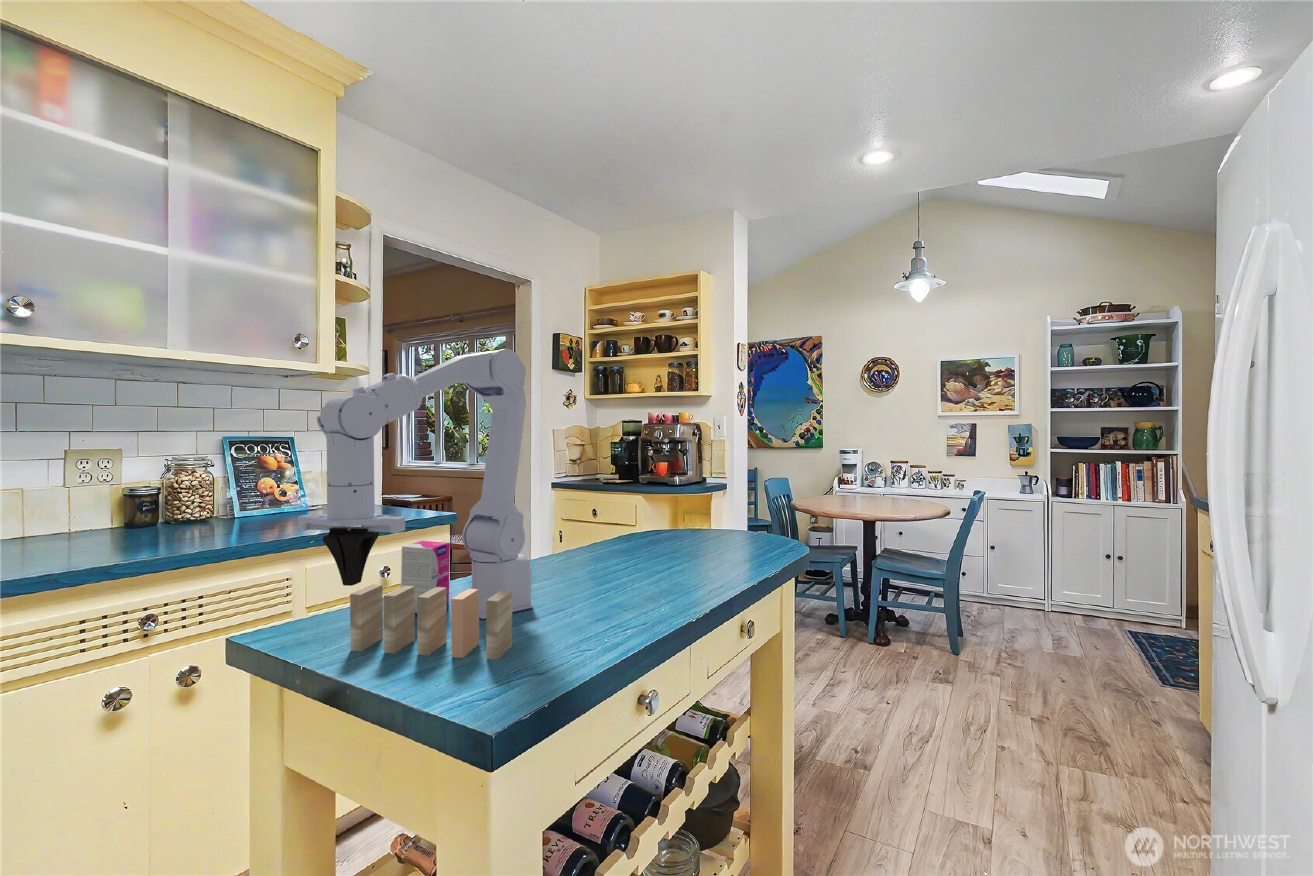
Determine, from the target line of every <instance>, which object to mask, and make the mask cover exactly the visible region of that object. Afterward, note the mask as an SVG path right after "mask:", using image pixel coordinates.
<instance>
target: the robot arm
mask: <svg viewBox="0 0 1313 876" xmlns="http://www.w3.org/2000/svg"><path fill="white" fill-rule="evenodd" d="M526 371H527V367H526V366H525V364H524V362H523V361H522V360H521V358H520V357H519V355H518V354H517V353H516V351H514V350H512V349H509V348H502V349H499V350H492V351H482V352H475V351H473V352H467V353H466V354H462V355H458V356H455V357H452V358H450V359H448V360H446V361H444V362H442V363H440V364H438V365H436V366H433V367H432V368H429V369H426V370H425V371H423V372H421V373H419V374H417V375H415V376H413V377H410V376H408V375H406V374H402V373H399V374H395V373H394V372H391V373H386V374H384V375H382V376H381V378H382V380H381V381H378V382H377V383H374V384H371V385H370V386H367V387H365V388H364V387H363V386H358V387H355V388H353V389H352V394H351V396H337V397H333V398H331V399H329V400H327V401H326V403H325V405H324V406H322V408H321V410H320V414H319V415H318V416H316V422H317V426H318V428H319V429H320V431H321V432H322V433H323V434H324V435H325V438H326V439H325V440H326V497H327V498H326V501H327V503H326V506H327V510H326V511H327V513H326V514H325V513H324V514H323V513H322V514H321V513H320V514H305V515H300V516H297V531H300V532H301V531H302V532H304V531H312V530H313V531H329V532H328V533H327V534H326V535H323V536H322V542H323V543H324V545H325V546H326V548H327V549H328V551H329V552H330V553H331V555H332V557H333V559H334V562H335V563H336V564H335V565H336V566H337V569H338V572H339V575H340V578H341V579H340V580H341V583H342V585H343V586H344V587H345V586H351V587H352V586H355V585H357V584H359V583H361V582H362V580H363V575H364V570H365V566H366V563H367V561H368V557H369V555H370V552H371V550H372V548H373V547H374V544H375V542H377V541H376V540H378V537H379V536H380V532H382V533H387V532H388V533H390V534H398V533H401V532H405V531H406V517H405V516H399V515H397V516H395V515H387V514H378V513H376V511H375V504H376V503H375V498H376V497H375V436H376V435H378V434H379V432H380V431H381V429H382V427H384V426H385V425H387V424H390V423H392V422H394V421H396V420H398V419H400V418H402V417H404V416H406V415H408V414H411V413H412V412H414V411H417V410H418V409H419V408H420V407H421V405H422V401H423V398H425V397H428V396H429V395H433V394H434V393H437V392H439V391H442V390H444V389H446V388H449V387H452V386H454V385H456V384H464V386H466V387H467V388H469V390H471V391H472V392H473V393H474V394H476V395H477V396H479V398H481V399H483V400H484V401H485V402H486V403H487V404H488V406H490V408H491V410H492V415H491V420H490V422H491V423H490V428H489V435H488V442H487V451H486V458H485V465H484V466H485V467H484V473H483V474H484V475H483V481H482V488H481V489H482V490H481V495H480V500H478V501H477V503H475V504H474V505H473V507H472V508H471V509H470V511H469V516H468V519H467V521H466V523H465V525H464V527H463V530H462V534H461V535H462V536H461V540H462V544H463V546H464V547H465V549H466V550H467V551H469V558H471V589H479V619H482V620H484V619H486V600H488V599H489V598H491V597H492V596H494V595H495V594H496V593H498V592H499V591H501V590H510V591H512V613H515V612H519V611H523V610H529V609H532V608H534V604H533V603H532V570H531V569H532V568H531V565H530V561H529V559H528V557H527V556H526V555H525V554H523V553H521V551H522V550H523V548H524V546H525V542H526V532H525V529H524V516H525V515H524V514H523V512H522V510H520V509H519V507H518V506H517V505H516V503H515V495H516V494H515V493H516V485H517V478H518V472H519V463H520V462H519V461H520V457H521V456H520V455H521V446H522V439H523V432H524V424H525V416H526V408H527V400H526V393H525V387H524V386H525V380H526V379H525V378H526Z"/></svg>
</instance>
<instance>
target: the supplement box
mask: <svg viewBox="0 0 1313 876" xmlns="http://www.w3.org/2000/svg"><path fill="white" fill-rule="evenodd" d="M450 553H451V543H450V542H446V541H445V542H444V541H429V540H419V541H417V542H413V543H409V544H406V545H403V546H401V565H400V566H401V568H400V570H401V571H400V574H401V577H400V588H401V587H403V586H415V617H417V597H418V596H420V595H422V594H424V593H426V592H428V591H430V590H432V589H433V588H435V587H445V588H446V609H448V608H449V606H450V604H449V603H450V566H451V565H450V556H451V555H450ZM447 607H448V608H447Z"/></svg>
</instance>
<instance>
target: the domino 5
mask: <svg viewBox="0 0 1313 876" xmlns="http://www.w3.org/2000/svg"><path fill="white" fill-rule="evenodd" d="M485 622H486V623H485V624H486V627H485V630H486V636H485V637H486V638H485V639H486V644H485V645H486V646H485V647H486V651H485V652H486V653H485V654H486V655H485V657H486V660H488V659H490V660H491V661H499V660H500V659H501V658H502V657H503V656H504V655H505V654H506V653H507V652H508V651H509V650H510V649H511V648H512V647H513V612H512V591H510V590H501V591H499V592H498V593H496V594H495V595H494V596H492V597H491V598H489V599H488V600H486V621H485ZM509 648H510V649H509ZM505 652H506V653H505Z"/></svg>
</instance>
